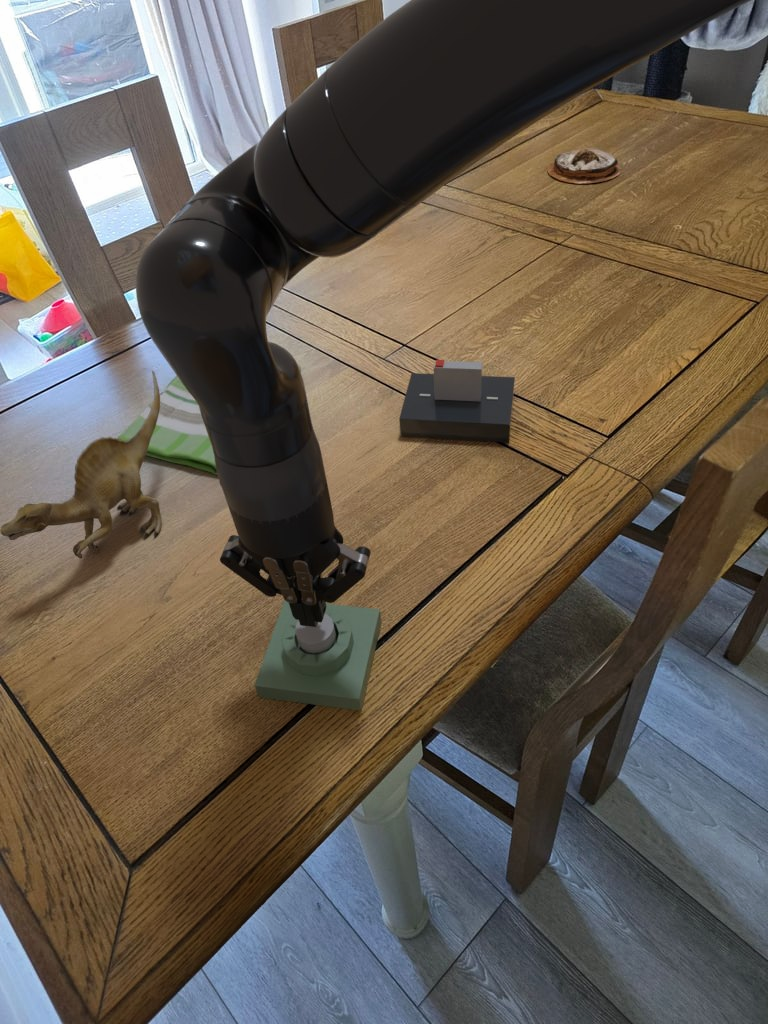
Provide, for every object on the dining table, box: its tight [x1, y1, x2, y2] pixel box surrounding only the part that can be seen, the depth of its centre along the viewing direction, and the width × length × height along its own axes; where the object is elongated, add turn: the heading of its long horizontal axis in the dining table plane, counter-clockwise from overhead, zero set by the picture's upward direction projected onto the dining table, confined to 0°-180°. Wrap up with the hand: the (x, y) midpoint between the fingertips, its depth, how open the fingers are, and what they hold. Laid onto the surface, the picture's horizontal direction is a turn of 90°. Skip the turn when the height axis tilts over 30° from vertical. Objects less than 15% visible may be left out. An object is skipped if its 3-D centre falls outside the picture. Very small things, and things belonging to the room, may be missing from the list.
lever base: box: [398, 372, 516, 444], centre depth 92 cm, size 14×10×3 cm
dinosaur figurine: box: [0, 370, 163, 559], centre depth 79 cm, size 8×26×13 cm, turn 155°
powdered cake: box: [547, 147, 622, 184], centre depth 145 cm, size 15×15×4 cm
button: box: [295, 614, 336, 654], centre depth 65 cm, size 4×4×2 cm
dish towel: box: [117, 362, 302, 476], centre depth 97 cm, size 17×23×4 cm
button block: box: [254, 599, 383, 712], centre depth 67 cm, size 10×10×4 cm
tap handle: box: [433, 359, 484, 402], centre depth 89 cm, size 6×2×5 cm, turn 80°
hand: (311, 618), depth 63 cm, fingers closed
